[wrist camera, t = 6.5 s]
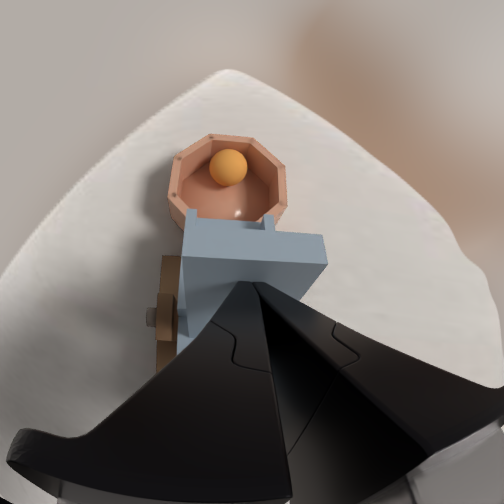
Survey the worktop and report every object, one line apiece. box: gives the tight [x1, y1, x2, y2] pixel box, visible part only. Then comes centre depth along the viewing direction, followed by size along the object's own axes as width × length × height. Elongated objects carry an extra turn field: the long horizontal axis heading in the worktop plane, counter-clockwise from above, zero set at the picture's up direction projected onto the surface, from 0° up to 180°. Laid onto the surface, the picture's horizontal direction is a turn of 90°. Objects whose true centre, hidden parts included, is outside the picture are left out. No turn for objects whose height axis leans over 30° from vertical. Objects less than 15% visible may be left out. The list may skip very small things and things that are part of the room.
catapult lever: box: [177, 209, 328, 355], centre depth 13 cm, size 13×5×11 cm, turn 0°
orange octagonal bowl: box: [168, 134, 287, 231], centre depth 22 cm, size 8×8×3 cm
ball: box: [209, 149, 247, 186], centre depth 22 cm, size 3×3×3 cm
